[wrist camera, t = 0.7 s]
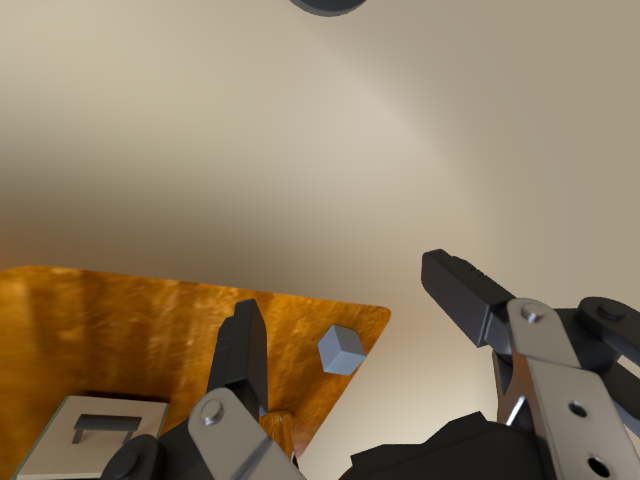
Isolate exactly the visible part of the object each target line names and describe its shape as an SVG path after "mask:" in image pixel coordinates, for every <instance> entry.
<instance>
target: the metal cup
mask: <svg viewBox="0 0 640 480" xmlns="http://www.w3.org/2000/svg"><path fill="white" fill-rule="evenodd" d="M292 420H293V416H292V413H291V412H289V411H286V410H276V411H272V412H270V413H268V414H266V415H265V416H263V417H262V419H261V421H260V426H261V427H262V429H263V430H264V431H265V432H266V433H267V435H268V436H269V437H271V438H272V439H273V440H274V441H275V442H276V443H277V444H278V446H279V447H280V448H281V449H282V450H283V452H284V453H285V454H286V455H287V456H288V458H289V459H290V460H291V461H292V462H293V464H294V465H295V466H296V467H297V468H298V470H299V467H298V463H297V458H296V454H295V450H294V445H293V439H292Z"/></svg>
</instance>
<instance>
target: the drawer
mask: <svg viewBox="0 0 640 480" xmlns="http://www.w3.org/2000/svg"><path fill="white" fill-rule="evenodd" d="M166 405H167V403H159V402H147V401H134V400H122V399H109V398H97V397H84V396H72V395H70V396H69V398H68V399H67V401H66V402H65V404H64V405H63V407H62V408H61V410H60V411H59V413H58V414H57V416H56V417H55V419H54V420H53V422H52V424H51V425H50V427H49V428H48V430H47V431H46V433H45V434H44V436H43V437H42V439H41V440H40V442H39V443H38V445H37V446H36V448H35V449H34V451H33V452H32V454H31V455H30V457H29V458H28V460H27V461H26V463H25V464H24V466H23V467H22V469H21V470H20V472H19V473H18V475H17V479H16V480H99V479H100V476H101V474H102V472H103V470H104V468H105V467H106V465H107V463H108V462H109V461H110V459H111V458H112V457H113V455H114V454H115V453H116V452H117V451H118V450H119V449H120V448H121V447H122V446H123V445H124V444H126V443H127V442H128V441H130V440H131V439H133V438H135V437H137V436H139V435H143V434H150V435H152V436H154V437H155V438H156V436H157V433H158V430H159V426H160V423H161V420H162V417H163V414H164V411H165V408H166Z"/></svg>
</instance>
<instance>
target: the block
mask: <svg viewBox="0 0 640 480" xmlns="http://www.w3.org/2000/svg"><path fill="white" fill-rule="evenodd" d="M318 348H319V352H320V357H321V361H322V366H323V370H324V372H330V373H336V374H341V375H347V376H349V375H350V374H351V373H352V372H353V371H354V370H355V369H356V368H357V367H358V366H359V364H360V363H361V362H362V361H363V360H364V359H365V358H366V357H367V356H366V353H365V351H364V349H363V346H362V344H361V341H360V339H359V336H358V334H357V332H356V331H355V330H352V329H348V328H345V327H341V326H338V325H334V324H333V325H332V326H331V327H330V329H329V330H328V331H327V332H326V334H325V335H324V336H323V337H322V339H321V340H320V341H319V343H318Z"/></svg>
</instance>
